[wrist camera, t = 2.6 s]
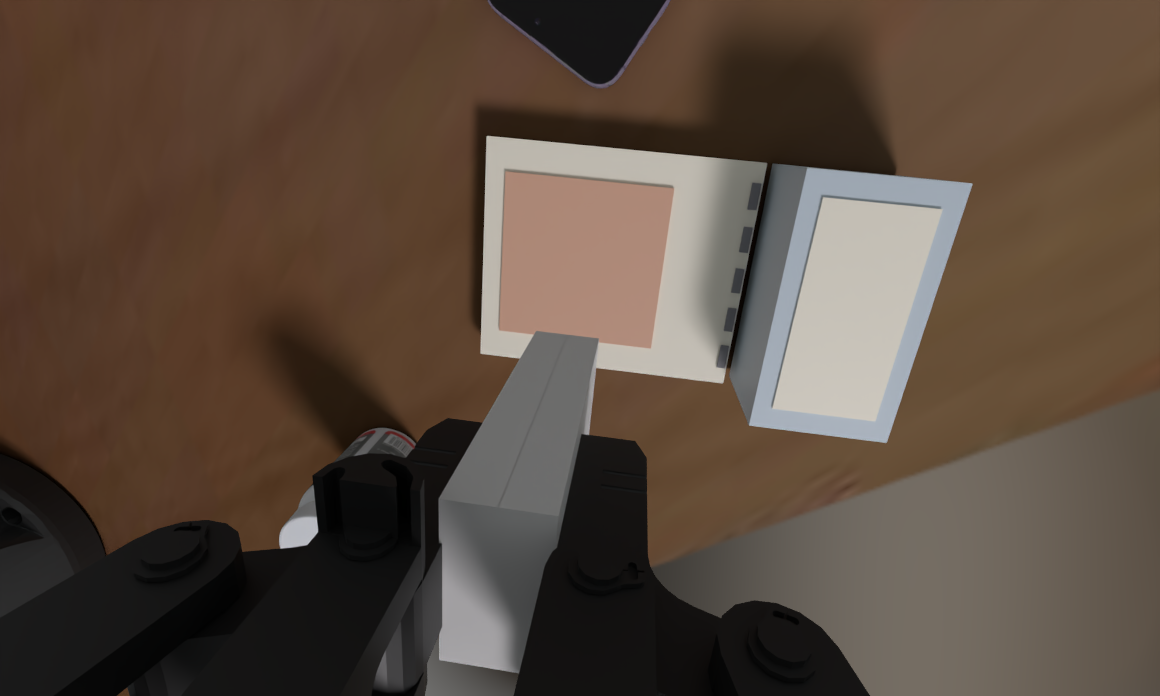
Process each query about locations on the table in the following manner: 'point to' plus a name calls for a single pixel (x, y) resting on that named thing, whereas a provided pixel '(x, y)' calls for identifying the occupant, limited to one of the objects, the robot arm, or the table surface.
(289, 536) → the pill bottle
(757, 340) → the blue framed panel box
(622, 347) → the board
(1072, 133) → the table surface
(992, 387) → the table surface
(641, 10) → the smartphone
